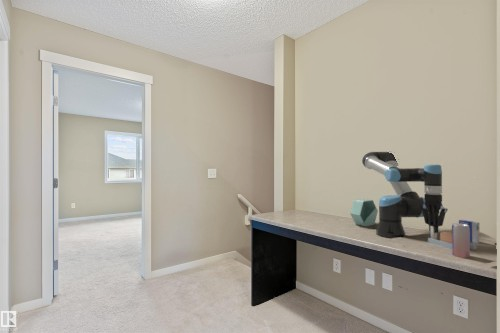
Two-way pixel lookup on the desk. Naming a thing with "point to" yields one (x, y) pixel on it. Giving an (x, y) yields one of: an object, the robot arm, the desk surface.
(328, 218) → the desk surface
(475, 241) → the walkman
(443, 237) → the block
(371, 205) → the teal faceted polyhedron
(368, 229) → the desk surface
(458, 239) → the beverage can
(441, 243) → the chute
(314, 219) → the desk surface
